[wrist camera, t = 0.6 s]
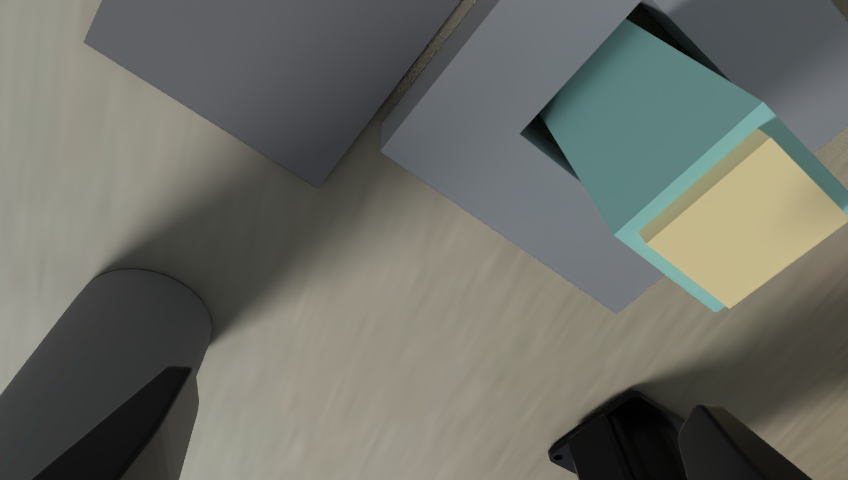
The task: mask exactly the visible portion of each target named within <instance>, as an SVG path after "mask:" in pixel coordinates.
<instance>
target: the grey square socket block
mask: <svg viewBox="0 0 848 480" xmlns="http://www.w3.org/2000/svg"><path fill="white" fill-rule="evenodd" d="M639 3H640V4H641V5H642V6H643V7H644V8H645V9H646V10H647V11H648V12H649V13H650V14H651V15H652V16H653V17H654V18H655V19H656V20H657V21H658V22H659V23H660V24H661V25H662V26H663V27H664V28H665V29H666V31H667V32H668V33H669V34H670V35H671V36H672V37H673V38H674V39H675V40H676V41H677V42H678V43H679V44H680V45H681V46H682V47H683V48H684V49H685V50H686V51H687V52H688V53H689V54H690V55H691V56H692V57H693V58H694V59H695V60H696V61H697V62H698V63H700V64H701V65H703V66H705V67H706V68H708V69H710V70H711V71H713V72H715V73H716V74H718V75H720V76H721V77H723V78H725V79H726V80H728V81H729V82H731V83H733V84H734V85H736V86H738V87H739V88H741V89H743V90H744V91H746V92H748V93H749V94H751V95H753V96H754V97H756V98H758V99H759V100H761V101H763V102H764V103H765V104H766V105H767V106H768V108H769V109H770V110H771V111H772V112H773V113H774V114H775V115H776V116H777V117H778V118H779V119H780V120H781V121H782V122H783V123H784V124H785V125H786V127H787V128H788V129H789V130H790V131H791V132H792V133H793V134H794V135H795V136H796V137H797V138H798V139H799V140H800V141H801V142H802V143H803V144H804V145H805V147H806V148H807V149H808V150H809V151H810V152H811V153H812V154H814V153H815V152H816V151H818V150H819V149H820V148H821V147H823V146H824V145H825V144H826V143H828V142H829V141H830V140H831V139H832V138H834V137H835V136H836V135H837V134H839V133H840V132H841V131H842V130H843V129H845V128H846V127H847V126H848V21H847V20H846V18H845V17H844V16H843V14H842V13H841V12H840V11H839V9H838V8H837V7H836V6H835V4H834V3H833V2H832V0H477V1H476V2H475V4H474V5H473V6H472V8H471V9H470V10H469V11H468V13H467V14H466V15H465V17H464V18H463V19H462V20H461V22H460V23H459V24H458V26H457V27H456V28H455V30H454V31H453V32H452V33H451V35H450V36H449V37H448V39H447V40H446V41H445V42H444V44H443V45H442V46H441V48H440V49H439V50H438V52H437V53H436V54H435V55H434V57H433V58H432V59H431V61H430V62H429V63H428V64H427V66H426V67H425V68H424V70H423V71H422V72H421V74H420V75H419V76H418V77H417V79H416V80H415V81H414V83H413V84H412V85H411V86H410V88H409V89H408V90H407V92H406V93H405V94H404V96H403V97H402V98H401V99H400V101H399V102H398V103H397V105H396V106H395V107H394V108H393V110H392V111H391V112H390V114H389V115H388V116H387V118H386V119H385V120H384V121H383V123H382V125H381V141H380V152H381V153H383V154H384V155H386V156H387V157H388V158H390V159H391V160H393V161H394V162H396V163H397V164H399V165H400V166H402V167H403V168H405V169H406V170H407V171H409V172H410V173H412V174H413V175H415V176H416V177H418V178H419V179H421V180H422V181H423V182H425V183H426V184H428V185H429V186H431V187H432V188H434V189H435V190H437V191H438V192H440V193H441V194H442V195H444V196H445V197H447V198H448V199H450V200H451V201H453V202H454V203H456V204H457V205H458V206H460V207H461V208H463V209H464V210H466V211H467V212H469V213H470V214H472V215H473V216H474V217H476V218H477V219H479V220H480V221H482V222H483V223H485V224H486V225H488V226H489V227H491V228H492V229H493V230H495V231H496V232H498V233H499V234H501V235H502V236H504V237H505V238H507V239H508V240H509V241H511V242H512V243H514V244H515V245H517V246H518V247H520V248H521V249H523V250H524V251H526V252H527V253H528V254H530V255H531V256H533V257H534V258H536V259H537V260H539V261H540V262H542V263H543V264H544V265H546V266H547V267H549V268H550V269H552V270H553V271H555V272H556V273H558V274H559V275H561V276H562V277H563V278H565V279H566V280H568V281H569V282H571V283H572V284H574V285H575V286H577V287H578V288H579V289H581V290H582V291H584V292H585V293H587V294H588V295H590V296H591V297H593V298H594V299H596V300H597V301H598V302H600V303H601V304H603V305H604V306H606V307H607V308H609V309H610V310H612V311H613V312H614V313H616V314H617V313H619V312H620V311H621V310H622V309H624V308H625V307H626V306H627V305H628V304H630V303H631V302H632V301H633V300H635V299H636V298H637V297H638V296H640V295H641V294H642V293H643V292H644V291H646V290H647V289H648V288H649V287H651V286H652V285H653V284H654V283H655V282H657V281H658V280H659V279H660V278H662V277H663V276H664V275H665V274H664V273H663V272H661V271H660V270H659V269H657V268H656V267H655V266H653V265H652V264H651V263H650V262H648V261H647V260H646V259H644V258H643V257H642V256H640V255H639V254H638V253H636V252H635V251H634V250H632V249H631V248H630V247H629V246H627V245H626V244H625V243H623V242H622V241H621V240H619V239H618V238H617V237H615V236H614V235H613V233H612V232H611V230H610V228H609V227H608V225H607V223H606V222H605V220H604V219H603V217H602V215H601V214H600V212H599V210H598V209H597V207H596V205H595V204H594V202H593V201H592V199H591V197H590V196H589V194H588V192H587V191H586V189H585V187H584V186H583V184H582V183H581V181H580V179H579V178H578V176H577V174H576V173H575V171H574V169H573V168H572V166H571V165H570V163H569V161H568V160H567V158H566V156H565V155H564V153H563V152H561V151H560V150H559V149H558V148H556V147H555V146H554V145H553V144H551V143H550V142H549V141H548V140H546V139H545V138H544V137H543V136H541V135H540V134H539V133H538V132H536V131H535V130H534V129H533V128H531V127H530V126H529V125H528V124H529V123H530V122H531V121H532V119H533V118H534V117H535V116H536V115H537V114H538V113H539V112H540V111H541V110H542V109H543V107H544V106H545V105H546V104H547V103H548V102H549V101H550V100H551V99H552V98H553V97H554V95H555V94H556V93H557V92H558V91H559V90H560V89H561V88H562V87H563V86H564V84H565V83H566V82H567V81H568V80H569V79H570V78H571V77H572V76H573V75H574V74H575V72H576V71H577V70H578V69H579V68H580V67H581V66H582V65H583V64H584V63H585V62H586V60H587V59H588V58H589V57H590V56H591V55H592V54H593V53H594V52H595V51H596V50H597V48H598V47H599V46H600V45H601V44H602V43H603V42H604V41H605V40H606V39H607V38H608V36H609V35H610V34H611V33H612V32H613V31H614V30H615V29H616V28H617V27H618V26H619V24H620V23H621V22H622V21H623V20H624V19H625V18H626V17H627V16H628V15H629V14H630V12H631V11H632V10H633V9H634V8H635V7H636V6H637V5H638V4H639Z"/></svg>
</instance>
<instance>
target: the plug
mask: <svg viewBox="0 0 848 480" xmlns="http://www.w3.org/2000/svg"><path fill="white" fill-rule="evenodd" d="M539 114H540V115H541V117H542V119H543V120H544V122H545V124H546V125H547V127H548V129H549V130H550V132H551V133H552V135H553V137H554V138H555V140H556V142H557V143H558V145H559V147H560V148H561V150H562V151H563V153H564V155H565V156H566V158H567V160H568V161H569V163H570V165H571V166H572V168H573V169H574V171H575V173H576V174H577V176H578V178H579V179H580V181H581V183H582V184H583V186H584V187H585V189H586V191H587V192H588V194H589V196H590V197H591V199H592V201H593V202H594V204H595V205H596V207H597V209H598V210H599V212H600V214H601V215H602V217H603V219H604V220H605V222H606V223H607V225H608V227H609V228H610V230H611V232H612V233H613V235H614V236H615V237H617V238H618V239H619V240H621V241H622V242H623V243H625V244H626V245H627V246H629V247H630V248H631V249H632V250H634V251H635V252H636V253H638V254H639V255H640V256H642V257H643V258H644V259H646V260H647V261H648V262H650V263H651V264H652V265H653V266H655V267H656V268H657V269H659V270H660V271H661V272H663V273H664V274H665V275H667V276H668V277H669V278H670V279H672V280H673V281H674V282H676V283H677V284H678V285H680V286H681V287H682V288H684V289H685V290H686V291H688V292H689V293H690V294H691V295H693V296H694V297H695V298H697V299H698V300H699V301H701V302H702V303H703V304H705V305H706V306H707V307H708V308H710V309H711V310H712V311H714V312H715V313H716V312H718V311H719V310H720V309H722V308H723V307H724V306H726V307H728V308H729V309H730V308H731V307H733V306H734V305H735V304H737V303H738V302H739V301H741V300H742V299H743V298H745V297H746V296H748V295H749V294H750V293H752V292H753V291H754V290H756V289H757V288H758V287H760V286H761V285H762V284H764V283H765V282H767V281H768V280H769V279H771V278H772V277H773V276H775V275H776V274H777V273H779V272H780V271H781V270H783V269H784V268H786V267H787V266H788V265H790V264H791V263H792V262H794V261H795V260H796V259H798V258H799V257H800V256H802V255H803V254H805V253H806V252H807V251H809V250H810V249H811V248H813V247H814V246H815V245H817V244H818V243H819V242H821V241H822V240H823V239H825V238H826V237H828V236H829V235H830V234H832V233H833V232H834V231H836V230H837V229H838V228H840V227H841V226H842V225H844V224H845V223H847V222H848V216H847V215H848V191H847V190H846V189H845V188H844V187H843V186H842V184H841V183H840V182H839V181H838V180H837V179H836V178H835V177H834V176H833V175H832V174H831V173H830V172H829V171H828V170H827V169H826V168H825V167H824V165H823V164H822V163H821V162H820V161H819V160H818V159H817V158H816V157H815V156H814V155H813V154H812V153H811V152H810V151H809V150H808V149H807V148H806V147H805V145H804V144H803V143H802V142H801V141H800V140H799V139H798V138H797V137H796V136H795V135H794V134H793V133H792V132H791V131H790V130H789V129H788V128H787V127H786V125H785V124H784V123H783V122H782V121H781V120H780V119H779V118H778V117H777V116H776V115H775V114H774V113H773V112H772V111H771V110H770V109H769V108H768V106H767V105H766V104H765V103H764V102H763V101H761V100H759V99H758V98H756V97H754V96H753V95H751V94H749V93H748V92H746V91H744V90H743V89H741V88H739V87H738V86H736V85H734V84H733V83H731V82H729V81H728V80H726V79H725V78H723V77H721V76H720V75H718V74H716V73H715V72H713V71H711V70H710V69H708V68H706V67H705V66H703V65H701V64H700V63H698V62H696V61H695V60H693V59H691V58H690V57H688V56H686V55H685V54H683V53H682V52H680V51H678V50H677V49H675V48H673V47H672V46H670V45H668V44H667V43H665V42H663V41H662V40H660V39H658V38H657V37H655V36H653V35H652V34H650V33H648V32H647V31H645V30H644V29H642V28H640V27H639V26H637V25H635V24H634V23H632V22H630V21H629V20H627V19H624V20H623V21H622V22H621V23H620V24H619V26H618V27H617V28H616V29H615V30H614V31H613V32H612V33H611V34H610V35H609V36H608V38H607V39H606V40H605V41H604V42H603V43H602V44H601V45H600V46H599V47H598V48H597V50H596V51H595V52H594V53H593V54H592V55H591V56H590V57H589V58H588V59H587V60H586V62H585V63H584V64H583V65H582V66H581V67H580V68H579V69H578V70H577V71H576V72H575V74H574V75H573V76H572V77H571V78H570V79H569V80H568V81H567V82H566V83H565V84H564V86H563V87H562V88H561V89H560V90H559V91H558V92H557V93H556V94H555V95H554V97H553V98H552V99H551V100H550V101H549V102H548V103H547V104H546V105H545V106H544V107H543V109H542V110H541V111H540V112H539Z"/></svg>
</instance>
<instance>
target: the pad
mask: <svg viewBox="0 0 848 480" xmlns="http://www.w3.org/2000/svg"><path fill="white" fill-rule="evenodd" d="M460 1H461V0H102V2H101V4H100V6H99V9H98V11H97V13H96V15H95V18H94V20H93V22H92V24H91V26H90V29H89V31H88V33H87V35H86V38H85V40H84V43H85V44H87V45H89V46H90V47H92V48H93V49H95V50H97V51H98V52H100V53H101V54H103V55H105V56H106V57H108V58H109V59H111V60H113V61H114V62H116V63H117V64H119V65H121V66H122V67H124V68H125V69H127V70H129V71H130V72H132V73H133V74H135V75H137V76H138V77H140V78H141V79H143V80H145V81H146V82H148V83H149V84H151V85H153V86H154V87H156V88H157V89H159V90H161V91H162V92H164V93H165V94H167V95H169V96H170V97H172V98H173V99H175V100H177V101H178V102H180V103H181V104H183V105H185V106H186V107H188V108H189V109H191V110H193V111H194V112H196V113H197V114H199V115H201V116H202V117H204V118H205V119H207V120H209V121H210V122H212V123H213V124H215V125H217V126H218V127H220V128H221V129H223V130H225V131H226V132H228V133H229V134H231V135H233V136H234V137H236V138H237V139H239V140H241V141H242V142H244V143H245V144H247V145H249V146H250V147H252V148H253V149H255V150H257V151H258V152H260V153H261V154H263V155H265V156H266V157H268V158H269V159H271V160H273V161H274V162H276V163H277V164H279V165H281V166H282V167H284V168H285V169H287V170H289V171H290V172H292V173H293V174H295V175H297V176H298V177H300V178H302V179H303V180H305V181H306V182H308V183H310V184H311V185H313V186H314V187H316V188H319V187H320V185H321V184H322V183H323V181H324V180H325V179H326V177H327V176H328V175H329V173H330V172H331V171H332V169H333V168H334V167H335V166H336V164H337V163H338V162H339V160H340V159H341V158H342V156H343V155H344V154H345V152H346V151H347V150H348V148H349V147H350V146H351V144H352V143H353V142H354V141H355V139H356V138H357V137H358V135H359V134H360V133H361V131H362V130H363V129H364V127H365V126H366V125H367V123H368V122H369V121H370V119H371V118H372V117H373V115H374V114H375V113H376V112H377V110H378V109H379V108H380V106H381V105H382V104H383V102H384V101H385V100H386V98H387V97H388V96H389V94H390V93H391V92H392V90H393V89H394V88H395V87H396V85H397V84H398V83H399V81H400V80H401V79H402V77H403V76H404V75H405V73H406V72H407V71H408V69H409V68H410V67H411V65H412V64H413V63H414V61H415V60H416V59H417V58H418V56H419V55H420V54H421V52H422V51H423V50H424V48H425V47H426V46H427V44H428V43H429V42H430V40H431V39H432V38H433V36H434V35H435V34H436V32H437V31H438V30H439V29H440V27H441V26H442V25H443V23H444V22H445V21H446V19H447V18H448V17H449V15H450V14H451V13H452V11H453V10H454V9H455V7H456V6H457V5H458V4H459V2H460Z"/></svg>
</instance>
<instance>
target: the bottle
mask: <svg viewBox="0 0 848 480" xmlns="http://www.w3.org/2000/svg"><path fill="white" fill-rule="evenodd" d="M211 334H212V323H211V318H210V315H209V312H208V310H207V309H206V307H205V305H204V304H203V302H202V301H201V300H200V299H199V298H198V297H197V296H196V295H195V294H194V293H193V292H192V291H191V290H190V289H189V288H187V287H186V286H184V285H183V284H181V283H180V282H178V281H176V280H174V279H172V278H170V277H167V276H165V275H162V274H159V273H155V272H151V271H145V270H140V269H125V270H116V271H112V272H108V273H106V274H103V275H101V276H99V277H97V278H95V279H93V280H92V281H91V282H90V283H89V284H87V285H86V287H85V288H84V289H83V290H82V291H81V292H80V293H79V295H78V296H77V297H76V298H75V299H74V301H73V302H72V303H71V305H70V306H69V307H68V308H67V310H66V311H65V312H64V314H63V315H62V316H61V317H60V319H59V320H58V321H57V323H56V324H55V325H54V326H53V328H52V329H51V330H50V332H49V333H48V334H47V336H46V337H45V338H44V339H43V341H42V342H41V343H40V345H39V346H38V347H37V348H36V350H35V351H34V352H33V354H32V355H31V356H30V357H29V359H28V360H27V361H26V363H25V364H24V365H23V366H22V368H21V369H20V370H19V372H18V373H17V374H16V376H15V377H14V378H13V380H12V381H11V382H10V383H9V385H8V386H7V387H6V389H5V390H4V391H3V393H2V394H1V395H0V480H30V479H31V478H32V477H33V476H35V475H36V474H37V473H38V472H40V471H41V470H42V469H43V468H44V467H46V466H47V465H48V464H49V463H50V462H52V461H53V460H54V459H55V458H56V457H58V456H59V455H60V454H61V453H63V452H64V451H65V450H66V449H67V448H69V447H70V446H71V445H72V444H73V443H75V442H76V441H77V440H78V439H79V438H81V437H82V436H83V435H84V434H85V433H87V432H88V431H89V430H90V429H92V428H93V427H94V426H95V425H96V424H98V423H99V422H100V421H101V420H102V419H104V418H105V417H106V416H107V415H108V414H110V413H111V412H112V411H113V410H115V409H116V408H117V407H118V406H119V405H121V404H122V403H123V402H124V401H125V400H127V399H128V398H129V397H130V396H131V395H133V394H134V393H135V392H136V391H137V390H139V389H140V388H141V387H142V386H144V385H145V384H146V383H147V382H148V381H150V380H151V379H152V378H153V377H154V376H156V375H157V374H158V373H159V372H160V371H162V370H163V369H164V368H165V367H167V366H170V365H180V366H191V367H193V368H194V370H195V372H196V376H197V373H198V371H199V368H200V366H201V363H202V361H203V358H204V356H205V353H206V350H207V348H208V345H209V342H210V338H211Z"/></svg>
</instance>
